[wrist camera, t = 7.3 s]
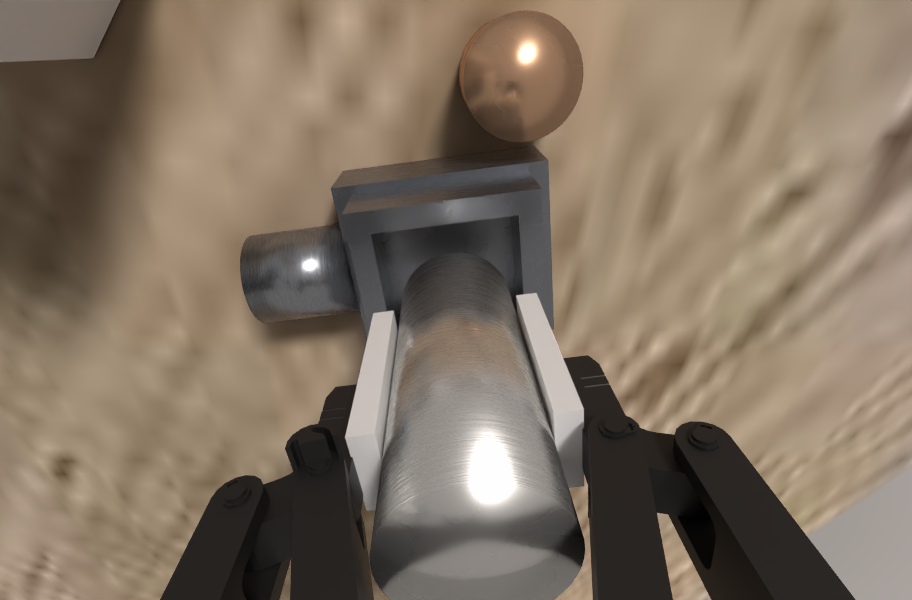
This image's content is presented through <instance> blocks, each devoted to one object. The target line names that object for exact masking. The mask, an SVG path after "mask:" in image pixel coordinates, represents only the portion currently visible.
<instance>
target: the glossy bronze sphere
mask: <svg viewBox="0 0 912 600" xmlns="http://www.w3.org/2000/svg"><path fill="white" fill-rule="evenodd" d="M582 82H583V62H582V57H581V53H580V50H579V47H578V45H577V43H576V40H575V39H574V37H573V36H572V34H571V32H570V31H569V30H568V29H567V28H566V27H565V26H564V25H563V24H562V23H561V22H560V21H558V20H557V19H555V18H553V17H552V16H550V15H547V14H545V13H541V12H537V11H528V10H527V11H517V12H512V13H509V14H507V15H504V16H501V17H499V18H497V19H494V20H492V21H490V22H488V23H486V24H485V25H484V26H482V27H481V28H480V29H479V30H478V31H477V32H476V33H475V34H474V35H473V36H472V37H471V39H470V40H469V42H468V43H467V45H466V47H465V49H464V51H463V54H462V57H461V61H460V66H459V84H460V89H461V93H462V96H463V98H464V101H465V103H466V104H467V106H468V108H469V110H470V112H471V113H472V115H473V117H474V118H475V120H476V121H477V122H478V123H479V125H480V126H481V127H483V128H484V129H485V130H486V131H487V132H489V133H490V134H492V135H493V136H495V137H497V138H500V139H502V140H506V141H510V142H528V141H533V140H537V139H539V138H542V137H544V136H546V135H548V134H550V133H551V132H553V131H554V130H556V129H557V128H558V127H559V126H560V125H561V124H562V123H563V122H564V121H565V120H566V119H567V118H568V116H569V115H570V114H571V112H572V110H573V109H574V107H575V105H576V103H577V100H578V98H579V95H580V92H581V88H582Z"/></svg>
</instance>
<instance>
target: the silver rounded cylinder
mask: <svg viewBox="0 0 912 600" xmlns="http://www.w3.org/2000/svg"><path fill="white" fill-rule="evenodd" d="M584 554H585V544H584V538H583V534H582V531H581V528H580V524H579V521H578V518H577V514H576V511H575V508H574V504H573V501H572V498H571V495H570V491H569V488H568V485H567V481H566V478H565V475H564V471H563V468H562V465H561V461H560V458H559V455H558V451H557V448H556V445H555V442H554V438H553V435H552V432H551V428H550V425H549V422H548V418H547V415H546V412H545V408H544V405H543V402H542V398H541V395H540V392H539V389H538V385H537V382H536V379H535V375H534V372H533V369H532V365H531V362H530V359H529V355H528V352H527V349H526V345H525V342H524V339H523V335H522V332H521V329H520V325H519V322H518V319H517V315H516V312H515V309H514V305H513V302H512V299H511V296H510V292H509V289H508V286H507V283H506V281H505V279H504V277H503V275H502V274H501V273H500V271H499V270H498V269H497V268H496V267H495V266H494V265H492V264H491V263H490V262H488V261H487V260H485V259H483V258H481V257H479V256H476V255H473V254H468V253H458V252H456V253H447V254H442V255H439V256H435V257H433V258H431V259H429V260H427V261H426V262H424V263H423V264H421V265H420V266H419V267H418V268H417V269H416V270H415V271H414V272H413V273H412V275H411V276H410V278H409V279H408V281H407V283H406V286H405V288H404V292H403V298H402V306H401V314H400V322H399V330H398V338H397V346H396V354H395V361H394V369H393V377H392V385H391V393H390V401H389V409H388V416H387V424H386V432H385V440H384V448H383V456H382V464H381V472H380V479H379V487H378V495H377V503H376V511H375V519H374V527H373V534H372V542H371V550H370V566H371V571H372V574H373V577H374V579H375V582H376V583H377V585H378V586H379V588H380V589H381V590H382V591H383V593H384V594H385V595H386V596H387V597H388V598H389V599H391V600H554V599H556V598H557V597H558V596H559V595H560V594H562V593H563V592H564V591H565V590H566V589H567V588H568V587H569V586H570V585H571V583H572V582H573V581H574V579H575V578H576V576H577V575H578V573H579V571H580V569H581V567H582V563H583V560H584Z"/></svg>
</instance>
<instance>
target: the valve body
mask: <svg viewBox="0 0 912 600" xmlns="http://www.w3.org/2000/svg"><path fill="white" fill-rule="evenodd" d="M331 191H332V195H333V200H334V204H335V208H336V212H337V216H338V221H339V224H338V225H330V226H322V227H315V228H307V229H299V230H291V231H284V232H276V233H268V234H260V235H253V236H249V237H248V238H247V239H246V240H245V242H244V244H243V247H242V251H241V258H240V272H241V281H242V286H243V291H244V294H245V298H246V300H247V303H248V305H249V308H250V310H251V311H252V313H253V314H254V316H255V317H256V318H257V319H258V320H259V321H260V322H262V323H271V322H279V321H287V320H295V319H303V318H311V317H319V316H327V315H335V314H342V313H350V312H358V311H360V313H361V317H362V321H363V325H364V329H365V334H366V338H367V339H368V335H369V330H370V326H371V321H372V317H373V313H378V312H386V311H394V315H395V320H396V325H397V330H399V322H400V314H401V306H402V298H403V292H404V288H405V286H406V283H407V281H408V279H409V278H410V276H411V275H412V273H413V272H414V271H415V270H416V269H417V268H418V267H419V266H420V265H421V264H423V263H424V262H426V261H427V260H429V259H431V258H433V257H435V256H439V255H442V254H447V253H456V252H458V253H468V254H473V255H476V256H479V257H481V258H483V259H485V260H487V261H488V262H490V263H491V264H492V265H494V266H495V267H496V268H497V269H498V270H499V271H500V273H501V274H502V275H503V277H504V279H505V281H506V283H507V286H508V289H509V292H510V296H511V299H512V302H513V305H514V309H515V312H516V315H517V302H516V295H523V294H531V293H537V295H538V298H539V300H540V303H541V305H542V308H543V310H544V312H545V315H546V317H547V320H548V322H549V325H550V327H551V329H554V318H553V289H552V259H551V229H550V200H549V170H548V159H547V158H546V157H545V156H544V155H543V154H542V153H541V152H540V151H539V150H538V149H537V148H536V147H535V146H531V147H523V148H516V149H508V150H500V151H493V152H485V153H477V154H470V155H462V156H455V157H447V158H439V159H432V160H424V161H416V162H409V163H401V164H394V165H386V166H378V167H371V168H363V169H355V170H348V171H343V172H342V173H341V175H340V176H339V178H338V179H337V180H336V182H335V183H334V185H333V186H332V188H331ZM517 319H518V316H517Z"/></svg>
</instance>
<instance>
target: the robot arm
mask: <svg viewBox="0 0 912 600" xmlns="http://www.w3.org/2000/svg"><path fill="white" fill-rule="evenodd" d="M516 302H517V316H518V322H519V325H520V329H521V332H522V335H523V339H524V342H525V345H526V349H527V352H528V355H529V359H530V362H531V365H532V369H533V372H534V375H535V379H536V382H537V385H538V389H539V392H540V395H541V398H542V402H543V405H544V408H545V412H546V415H547V418H548V422H549V425H550V428H551V432H552V435H553V438H554V442H555V445H556V448H557V451H558V455H559V458H560V461H561V465H562V468H563V471H564V475H565V478H566V481H567V485H568V488H572V487H580V486H584V475H585V477H586V480H587V483H588V518H589V525H590V546H591V567H592V589H593V600H673V598H672V593H671V587H670V582H669V576H668V571H667V566H666V560H665V555H664V550H663V544H662V539H661V534H660V528H659V523H658V517H657V513H663V514H669V517H670V519H671V521H672V523H673V525H674V527H675V529H676V531H677V533H678V535H679V537H680V539H681V541H682V543H683V545H684V547H685V549H686V550H687V552H688V554H689V556H690V558H691V560H692V562H693V564H694V566H695V568H696V570H697V572H698V574H699V576H700V578H701V580H702V582H703V584H704V586H705V588H706V590H707V592H708V594H709V596H710V598H711V600H855V598H854V597H853V596H852V595H851V593H850V592H849V591H848V589H847V588H846V587H845V585H844V584H843V583H842V581H841V580H840V579H839V578H838V576H837V575H836V574H835V572H834V571H833V570H832V569H831V567H830V566H829V564H828V563H827V562H826V561H825V559H824V558H823V557H822V555H821V554H820V553H819V551H818V550H817V549H816V548H815V546H814V545H813V544H812V543H811V541H810V540H809V538H808V537H807V536H806V534H805V533H804V532H803V531H802V529H801V528H800V527H799V525H798V524H797V523H796V521H795V520H794V519H793V518H792V516H791V515H790V514H789V512H788V511H787V510H786V508H785V507H784V506H783V504H782V503H781V502H780V501H779V499H778V498H777V497H776V495H775V494H774V493H773V491H772V490H771V489H770V488H769V486H768V485H767V484H766V482H765V481H764V480H763V478H762V477H761V476H760V474H759V473H758V472H757V471H756V469H755V468H754V467H753V465H752V464H751V463H750V461H749V460H748V459H747V458H746V456H745V455H744V454H743V452H742V451H741V450H740V448H739V447H738V446H737V444H736V443H735V442H734V441H733V439H732V438H731V437H730V436H729V435H728V434H727V433H726V432H725V431H724V430H723V429H721V428H719V427H717V426H715V425H713V424H709V423H705V422H688V423H685V424H682V425H681V426H679V427H678V428H677V429H676V432H675V435H672V434H663V433H656V432H651V431H647V430H644V429H642V428H640V427H639V425H638V423H637V422H635V421H634V420H633V419H632V418H630V417H628V416H626V415H625V413H624V412H623V410H622V408H621V406H620V404H619V402H618V400H617V398H616V396H615V394H614V392H613V390H612V388H611V386H610V385H609V382H608V380H607V378H606V376H605V375H604V373H603V371H602V369H601V367H600V365H599V363H597V362H596V361H595V360H593V359H592V358H591V357H589V356H588V355H587V356H579V357H571V358H563V357H562V354H561V352H560V349H559V347H558V344H557V342H556V339H555V337H554V335H553V332H552V330H551V327H550V325H549V322H548V320H547V317H546V315H545V312H544V310H543V308H542V305H541V303H540V300H539V298H538V295H537V293H531V294H523V295H516ZM397 338H398V330H397V325H396V320H395V315H394V311H386V312H378V313H373V317H372V321H371V326H370V330H369V335H368V339H367V343H366V348H365V352H364V356H363V361H362V365H361V370H360V374H359V378H358V383H357V385H349V386H340V387H335V388H334V390H333V391H332V392H331V393H330V394H329V395H328V396H327V398H326V400H325V404H324V407H323V411H322V413H321V417H320V421H319V423H318V424H315V425H310V426H307V427H305V428H302V429H300V430H299V431H297V432H296V433H295V434H293V435H292V436H291V438H290V439H289V440H288V441H287V444H286V447H285V450H286V452H287V455H288V458H289V460H290V463H291V466H292V468H293V471H294V472H293V473H291V474H289V475H287V476H285V477H283V478H281V479H278V480H275V481H272V482H270V483H267V484H264V485H263V483H262V481H261V479H259V478H258V477H256V476H248V475H245V476H241V477H237V478H235V479H233V480H231V481H229V482H227V483H225V484H224V485H223V486H221V487H220V488H219V489H218V490H217V491H216V492H215V494H214V495H213V496H212V498H211V500H210V502H209V504H208V506H207V508H206V510H205V512H204V514H203V516H202V518H201V520H200V522H199V524H198V526H197V527H196V529H195V531H194V533H193V535H192V537H191V539H190V541H189V543H188V545H187V547H186V549H185V551H184V553H183V555H182V557H181V559H180V561H179V563H178V565H177V567H176V569H175V571H174V573H173V575H172V577H171V579H170V581H169V583H168V585H167V587H166V589H165V591H164V593H163V595H162V597H161V599H160V600H279V598H280V595H281V591H282V588H283V585H284V581H285V578H286V574H287V571H288V567H289V564H290V560H291V592H290V600H374V597H373V590H372V582H371V574H370V566H369V558H368V550H367V543H366V535H365V527H364V522H363V519H362V515H361V508H362V502H363V500H364V504H365V507H366V511H373V510H376V503H377V495H378V487H379V479H380V472H381V464H382V456H383V448H384V440H385V432H386V424H387V416H388V409H389V401H390V393H391V385H392V377H393V369H394V361H395V354H396V346H397Z"/></svg>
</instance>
